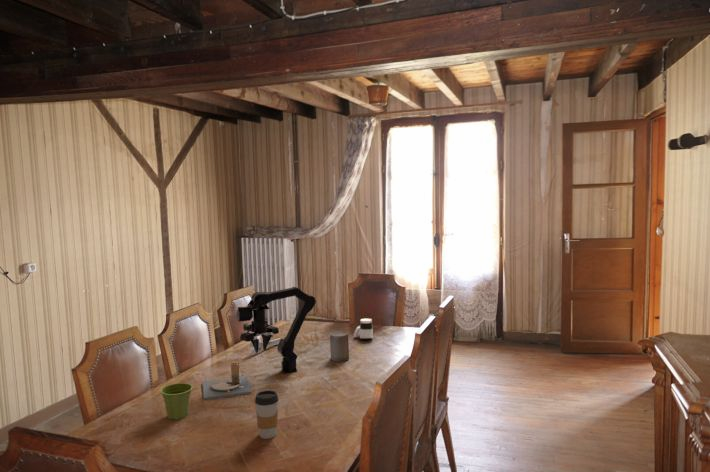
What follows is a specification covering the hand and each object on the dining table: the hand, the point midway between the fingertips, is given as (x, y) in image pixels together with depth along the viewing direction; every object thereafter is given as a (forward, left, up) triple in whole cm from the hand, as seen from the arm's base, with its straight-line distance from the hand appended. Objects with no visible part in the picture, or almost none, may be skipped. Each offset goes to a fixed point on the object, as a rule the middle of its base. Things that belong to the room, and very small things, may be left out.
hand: (260, 351), depth 233 cm
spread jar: (-66, -39, -12) cm, 78 cm away
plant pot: (+37, +32, -12) cm, 50 cm away
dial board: (+17, +10, -12) cm, 23 cm away
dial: (+17, +10, -11) cm, 22 cm away
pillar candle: (-42, -9, -12) cm, 45 cm away
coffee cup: (+6, +60, -12) cm, 62 cm away
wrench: (-9, -40, -12) cm, 43 cm away
